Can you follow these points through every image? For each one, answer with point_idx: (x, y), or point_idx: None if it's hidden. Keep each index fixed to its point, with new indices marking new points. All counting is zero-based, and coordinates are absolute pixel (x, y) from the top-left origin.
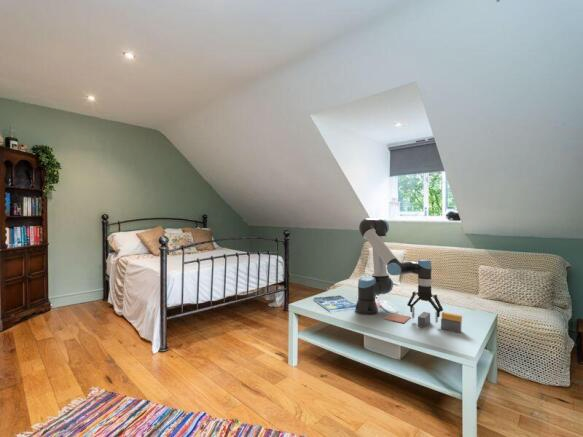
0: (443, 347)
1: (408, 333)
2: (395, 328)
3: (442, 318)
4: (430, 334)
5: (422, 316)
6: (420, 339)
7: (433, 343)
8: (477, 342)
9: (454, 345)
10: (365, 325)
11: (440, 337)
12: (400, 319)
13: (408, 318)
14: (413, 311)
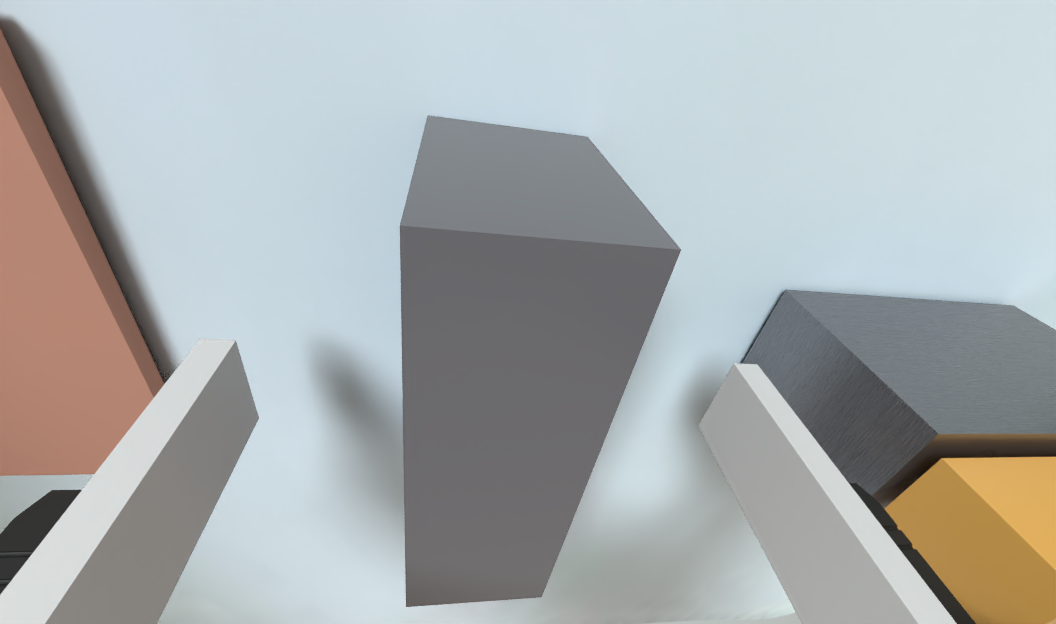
0: (667, 617)
1: (399, 593)
2: (227, 580)
3: (883, 495)
4: (591, 529)
5: (482, 568)
6: (518, 613)
7: (610, 612)
8: None
9: (749, 577)
10: None
11: (676, 534)
12: (7, 382)
13: (63, 227)
14: (164, 567)
